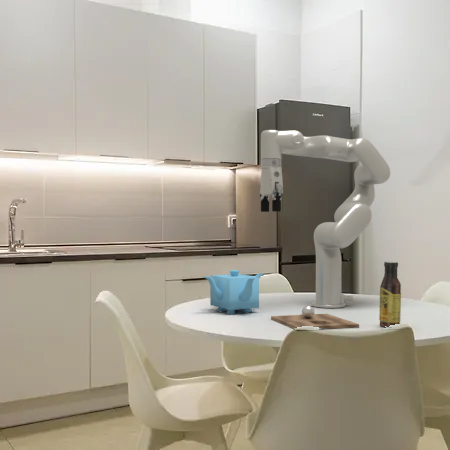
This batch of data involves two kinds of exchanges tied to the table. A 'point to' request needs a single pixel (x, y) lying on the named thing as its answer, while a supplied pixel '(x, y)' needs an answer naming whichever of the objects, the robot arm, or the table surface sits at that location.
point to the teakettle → (234, 291)
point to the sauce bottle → (390, 296)
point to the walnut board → (315, 321)
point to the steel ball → (308, 311)
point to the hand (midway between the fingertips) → (270, 211)
